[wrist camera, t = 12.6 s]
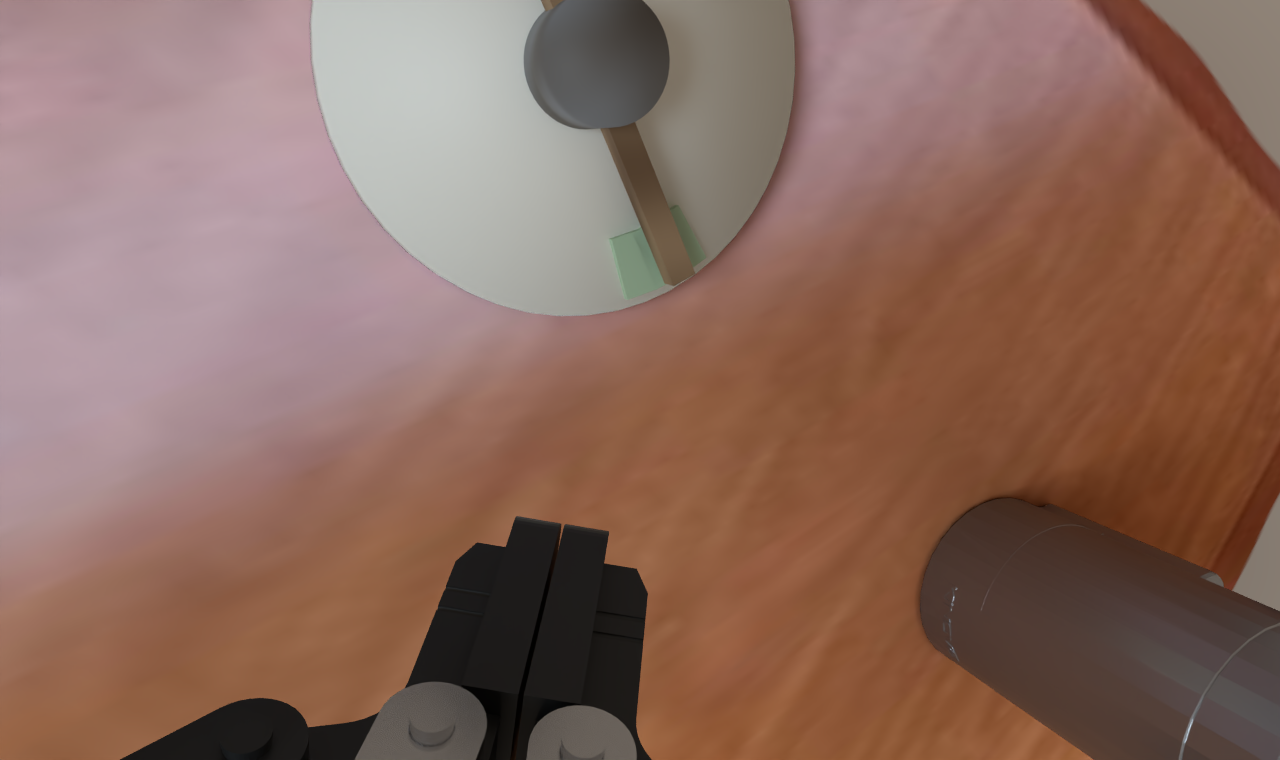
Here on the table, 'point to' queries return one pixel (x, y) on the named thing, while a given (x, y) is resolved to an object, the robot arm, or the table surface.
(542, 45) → the dial
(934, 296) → the table surface
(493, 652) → the robot arm
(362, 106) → the plate
